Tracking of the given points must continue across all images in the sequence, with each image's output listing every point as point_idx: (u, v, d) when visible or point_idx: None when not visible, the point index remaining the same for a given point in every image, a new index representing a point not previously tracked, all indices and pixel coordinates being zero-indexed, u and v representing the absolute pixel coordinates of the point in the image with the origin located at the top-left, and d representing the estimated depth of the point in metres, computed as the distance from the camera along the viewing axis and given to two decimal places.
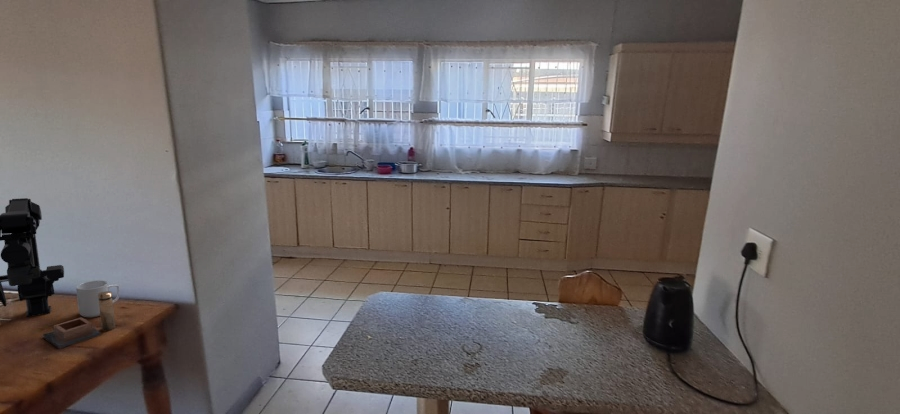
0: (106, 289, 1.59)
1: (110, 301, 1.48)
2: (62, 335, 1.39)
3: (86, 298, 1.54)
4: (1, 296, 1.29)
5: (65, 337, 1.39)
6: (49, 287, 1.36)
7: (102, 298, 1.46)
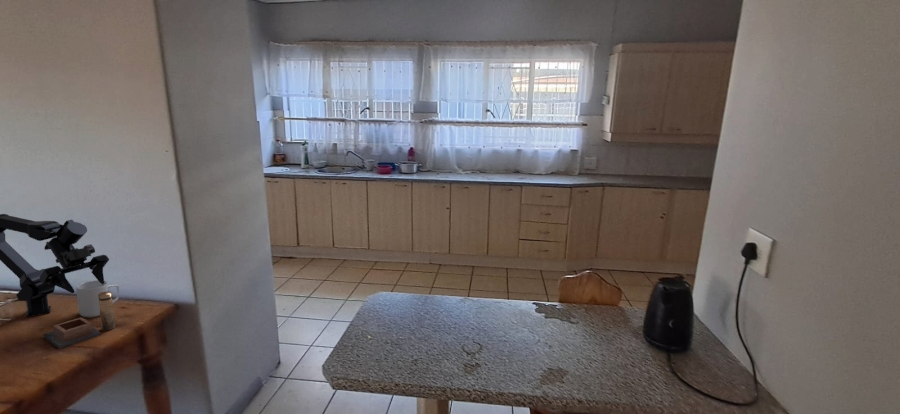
0: (106, 289, 1.59)
1: (110, 301, 1.48)
2: (62, 335, 1.39)
3: (86, 298, 1.54)
4: (68, 282, 1.45)
5: (65, 337, 1.39)
6: (101, 271, 1.55)
7: (102, 298, 1.46)
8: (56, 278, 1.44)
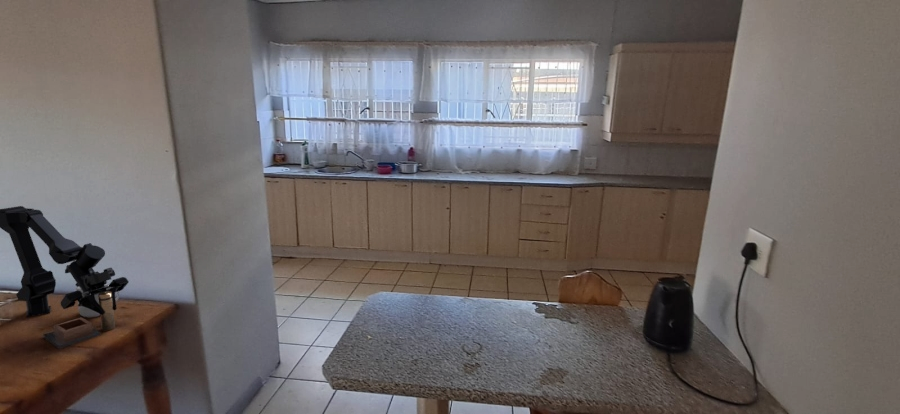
0: None
1: (110, 301, 1.48)
2: (62, 335, 1.39)
3: None
4: (97, 304, 1.46)
5: (65, 337, 1.39)
6: (113, 296, 1.51)
7: (102, 298, 1.46)
8: (86, 300, 1.45)
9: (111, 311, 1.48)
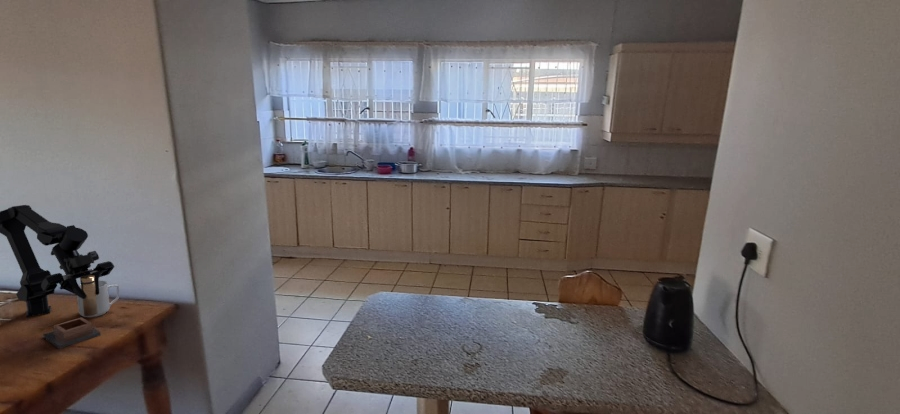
0: (106, 289, 1.59)
1: (92, 285, 1.43)
2: (62, 335, 1.39)
3: None
4: (79, 287, 1.42)
5: (65, 337, 1.39)
6: (97, 281, 1.47)
7: (84, 282, 1.42)
8: (67, 283, 1.41)
9: (93, 296, 1.44)
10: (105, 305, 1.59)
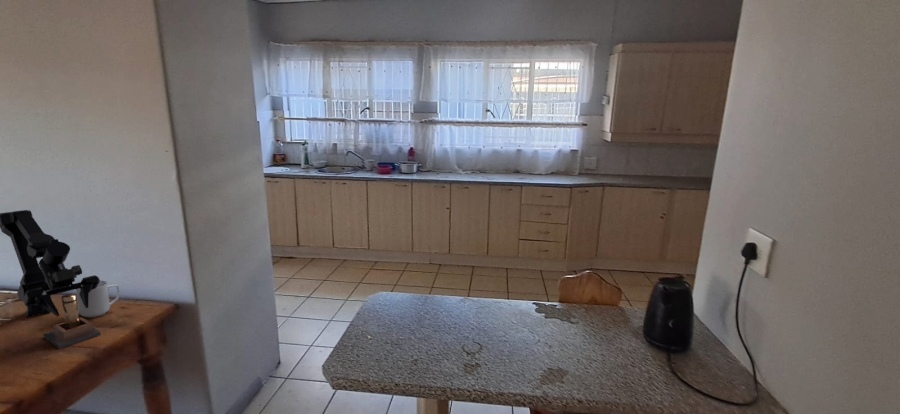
0: (106, 289, 1.59)
1: (73, 304, 1.41)
2: (62, 335, 1.39)
3: None
4: (53, 304, 1.38)
5: (65, 337, 1.39)
6: (87, 294, 1.46)
7: (64, 301, 1.40)
8: (42, 300, 1.37)
9: (75, 315, 1.42)
10: (105, 305, 1.59)
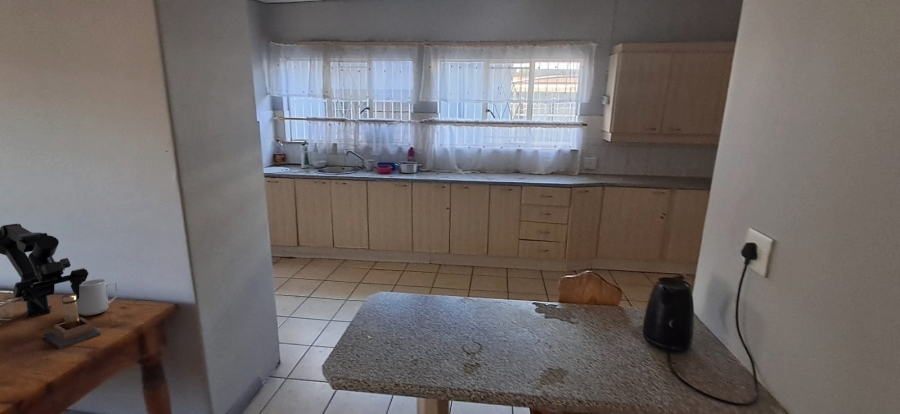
0: (104, 286, 1.59)
1: (74, 304, 1.41)
2: (62, 335, 1.39)
3: (83, 295, 1.54)
4: (39, 297, 1.41)
5: (65, 337, 1.39)
6: (78, 285, 1.50)
7: (65, 301, 1.40)
8: (28, 292, 1.41)
9: (75, 315, 1.42)
10: (103, 302, 1.59)
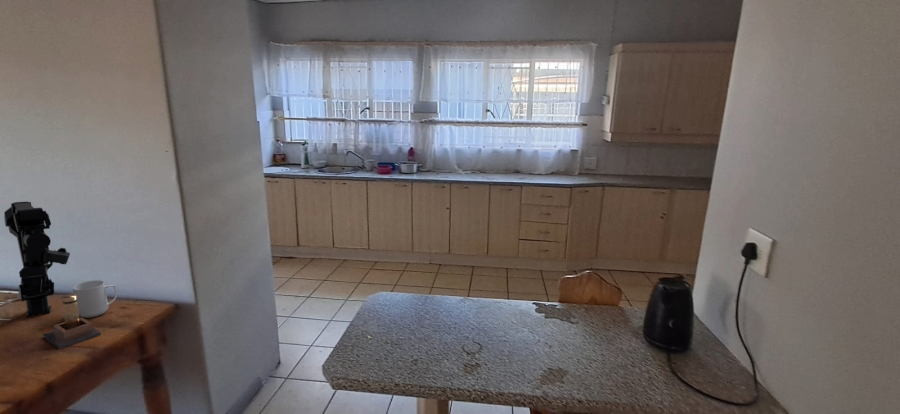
0: (102, 289, 1.58)
1: (74, 305, 1.41)
2: (62, 335, 1.39)
3: (81, 298, 1.54)
4: (41, 283, 1.44)
5: (65, 337, 1.39)
6: None
7: (65, 301, 1.40)
8: None
9: (75, 315, 1.42)
10: (102, 305, 1.58)
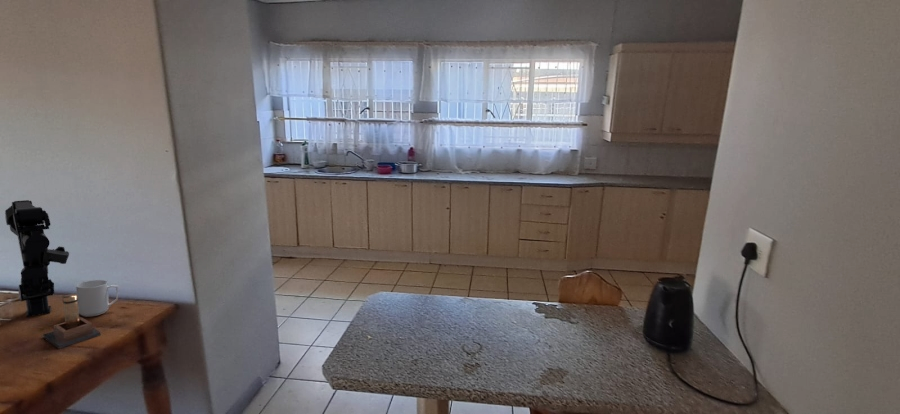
0: (104, 289, 1.58)
1: (74, 304, 1.41)
2: (62, 335, 1.39)
3: (83, 297, 1.54)
4: (42, 282, 1.44)
5: (65, 337, 1.39)
6: None
7: (65, 301, 1.40)
8: None
9: (75, 315, 1.42)
10: (102, 305, 1.58)
